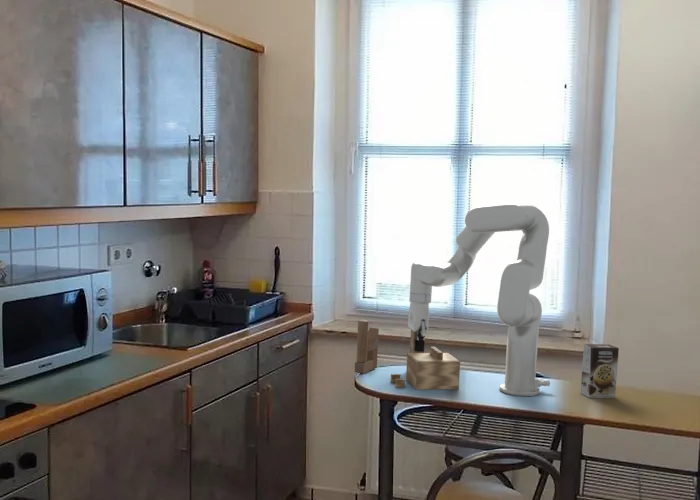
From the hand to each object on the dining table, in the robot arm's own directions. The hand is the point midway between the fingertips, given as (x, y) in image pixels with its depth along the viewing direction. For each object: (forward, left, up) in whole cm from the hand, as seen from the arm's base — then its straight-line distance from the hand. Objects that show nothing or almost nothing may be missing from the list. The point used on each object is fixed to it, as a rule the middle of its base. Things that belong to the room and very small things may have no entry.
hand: (417, 349), depth 266 cm
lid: (0, +18, +1) cm, 18 cm away
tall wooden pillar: (0, 0, -3) cm, 3 cm away
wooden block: (+18, -2, -8) cm, 19 cm away
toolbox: (+3, +18, -8) cm, 20 cm away
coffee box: (-50, +34, -8) cm, 61 cm away
